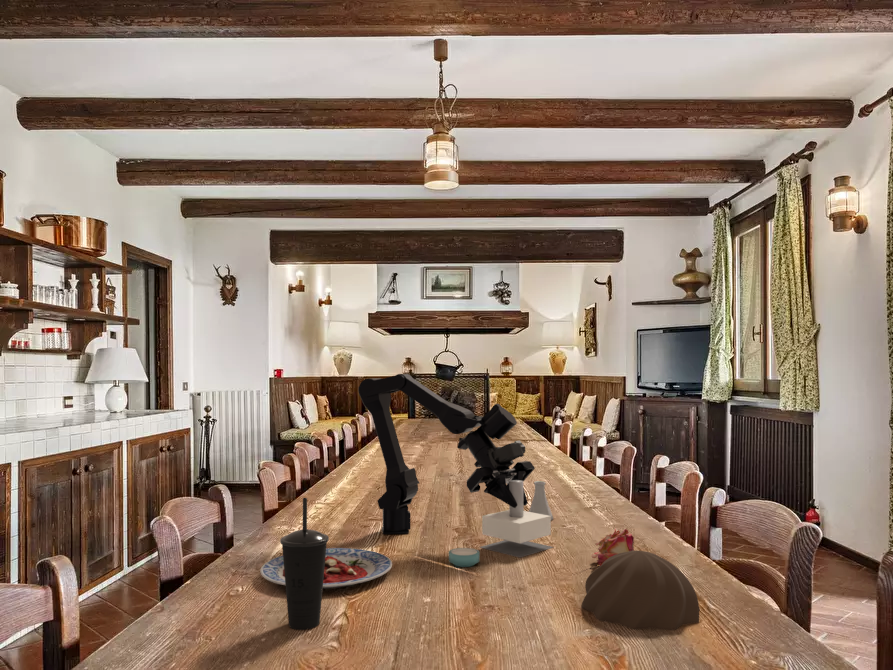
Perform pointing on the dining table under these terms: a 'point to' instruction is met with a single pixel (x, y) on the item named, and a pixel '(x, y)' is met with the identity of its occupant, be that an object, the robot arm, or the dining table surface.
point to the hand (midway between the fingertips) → (521, 505)
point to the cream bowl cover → (516, 520)
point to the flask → (540, 500)
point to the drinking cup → (304, 574)
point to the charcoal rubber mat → (516, 548)
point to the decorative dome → (641, 592)
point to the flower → (614, 545)
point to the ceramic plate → (338, 567)
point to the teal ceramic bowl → (464, 557)
